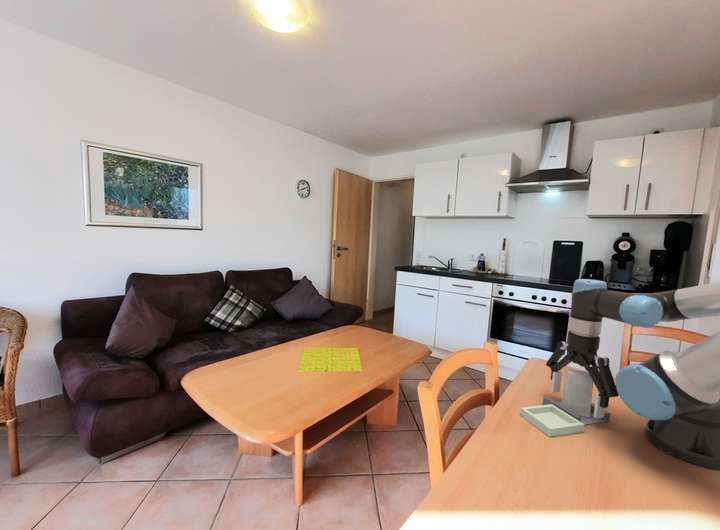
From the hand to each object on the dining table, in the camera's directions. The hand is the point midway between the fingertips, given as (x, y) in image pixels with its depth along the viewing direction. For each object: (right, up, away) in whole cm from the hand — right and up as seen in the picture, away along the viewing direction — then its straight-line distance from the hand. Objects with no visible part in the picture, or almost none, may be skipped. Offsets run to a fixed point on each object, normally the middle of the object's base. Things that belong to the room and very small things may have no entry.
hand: (575, 403), depth 90 cm
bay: (0, -3, 0) cm, 3 cm away
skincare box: (0, -3, 0) cm, 3 cm away
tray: (-11, -3, -6) cm, 13 cm away
